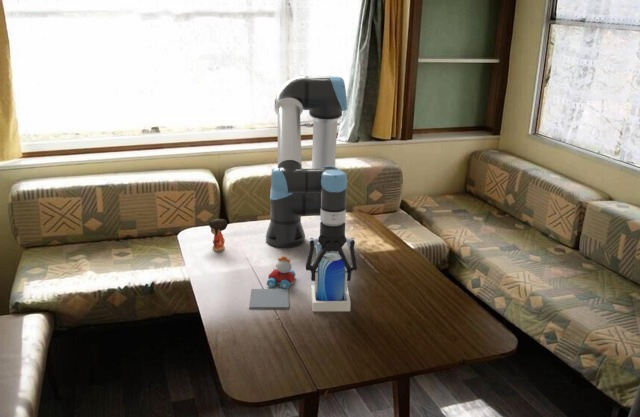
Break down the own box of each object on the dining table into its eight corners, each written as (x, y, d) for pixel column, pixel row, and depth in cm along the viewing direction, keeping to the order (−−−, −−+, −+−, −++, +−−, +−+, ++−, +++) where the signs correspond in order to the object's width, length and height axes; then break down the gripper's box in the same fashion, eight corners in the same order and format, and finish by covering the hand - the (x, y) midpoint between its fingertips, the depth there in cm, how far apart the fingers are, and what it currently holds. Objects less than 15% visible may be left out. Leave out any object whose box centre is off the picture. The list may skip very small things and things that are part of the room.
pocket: (311, 293, 199) (311, 285, 198) (346, 293, 200) (347, 285, 199) (312, 311, 188) (312, 302, 187) (350, 311, 189) (350, 302, 188)
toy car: (272, 275, 211) (272, 248, 208) (297, 278, 210) (298, 251, 206) (264, 287, 203) (264, 259, 200) (290, 290, 201) (290, 262, 198)
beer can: (330, 293, 200) (331, 247, 194) (349, 302, 194) (351, 256, 189) (311, 301, 194) (312, 255, 189) (330, 311, 188) (331, 263, 183)
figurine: (219, 244, 235) (218, 214, 231) (229, 247, 232) (229, 217, 228) (207, 249, 230) (205, 219, 226) (217, 253, 227) (216, 222, 223)
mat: (251, 290, 200) (251, 288, 200) (288, 290, 201) (288, 288, 201) (249, 308, 189) (249, 307, 189) (288, 308, 190) (288, 306, 189)
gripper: (297, 226, 181) (296, 295, 188) (369, 226, 182) (365, 295, 190) (297, 217, 188) (296, 284, 195) (366, 217, 189) (362, 284, 197)
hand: (330, 289), depth 193 cm, fingers closed on beer can, 8 cm apart
